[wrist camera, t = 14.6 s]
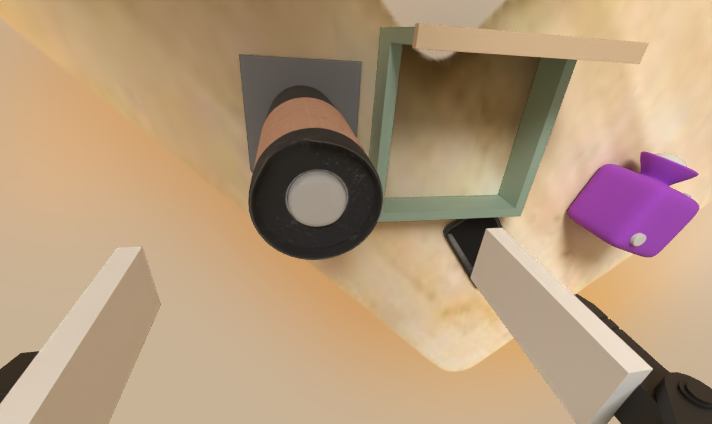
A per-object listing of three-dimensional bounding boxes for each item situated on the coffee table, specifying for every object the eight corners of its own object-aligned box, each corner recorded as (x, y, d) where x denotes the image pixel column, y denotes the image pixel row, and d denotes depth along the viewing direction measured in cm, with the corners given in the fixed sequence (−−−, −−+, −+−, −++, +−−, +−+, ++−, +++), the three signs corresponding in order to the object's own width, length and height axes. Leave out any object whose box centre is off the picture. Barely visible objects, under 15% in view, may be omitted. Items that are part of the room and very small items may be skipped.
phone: (478, 290, 53) (442, 232, 46) (474, 286, 54) (439, 227, 47) (520, 266, 52) (491, 201, 45) (516, 261, 53) (487, 198, 46)
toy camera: (660, 147, 47) (744, 174, 38) (607, 227, 53) (669, 265, 44) (604, 136, 44) (681, 161, 35) (555, 221, 50) (611, 261, 41)
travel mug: (324, 162, 37) (356, 272, 20) (257, 141, 35) (231, 247, 18) (347, 98, 34) (408, 164, 17) (277, 70, 32) (267, 116, 15)
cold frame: (380, 25, 32) (419, 23, 23) (555, 39, 36) (648, 43, 27) (364, 206, 42) (386, 256, 33) (503, 202, 46) (557, 245, 37)
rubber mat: (239, 54, 31) (239, 54, 31) (360, 61, 33) (361, 62, 33) (251, 170, 37) (250, 172, 36) (353, 169, 39) (354, 170, 39)
